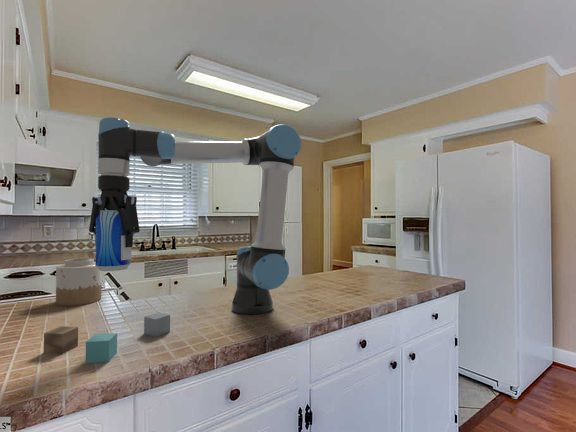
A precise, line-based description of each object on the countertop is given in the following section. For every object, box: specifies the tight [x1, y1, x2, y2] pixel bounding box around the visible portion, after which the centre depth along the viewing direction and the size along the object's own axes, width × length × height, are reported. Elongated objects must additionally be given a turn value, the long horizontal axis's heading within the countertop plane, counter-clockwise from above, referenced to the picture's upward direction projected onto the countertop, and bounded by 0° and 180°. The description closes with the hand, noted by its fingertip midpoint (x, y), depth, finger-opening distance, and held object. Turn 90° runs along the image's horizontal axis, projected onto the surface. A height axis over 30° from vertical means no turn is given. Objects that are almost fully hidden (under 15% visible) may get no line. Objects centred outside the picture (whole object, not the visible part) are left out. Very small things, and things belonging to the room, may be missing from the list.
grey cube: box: [143, 312, 171, 338], centre depth 92 cm, size 5×5×5 cm
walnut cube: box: [43, 325, 79, 355], centre depth 80 cm, size 5×5×5 cm
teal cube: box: [85, 332, 118, 364], centre depth 75 cm, size 5×5×5 cm
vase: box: [55, 257, 103, 307], centre depth 127 cm, size 15×15×17 cm
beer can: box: [95, 210, 132, 272], centre depth 86 cm, size 8×8×16 cm
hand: (113, 258), depth 86 cm, fingers closed on beer can, 8 cm apart
